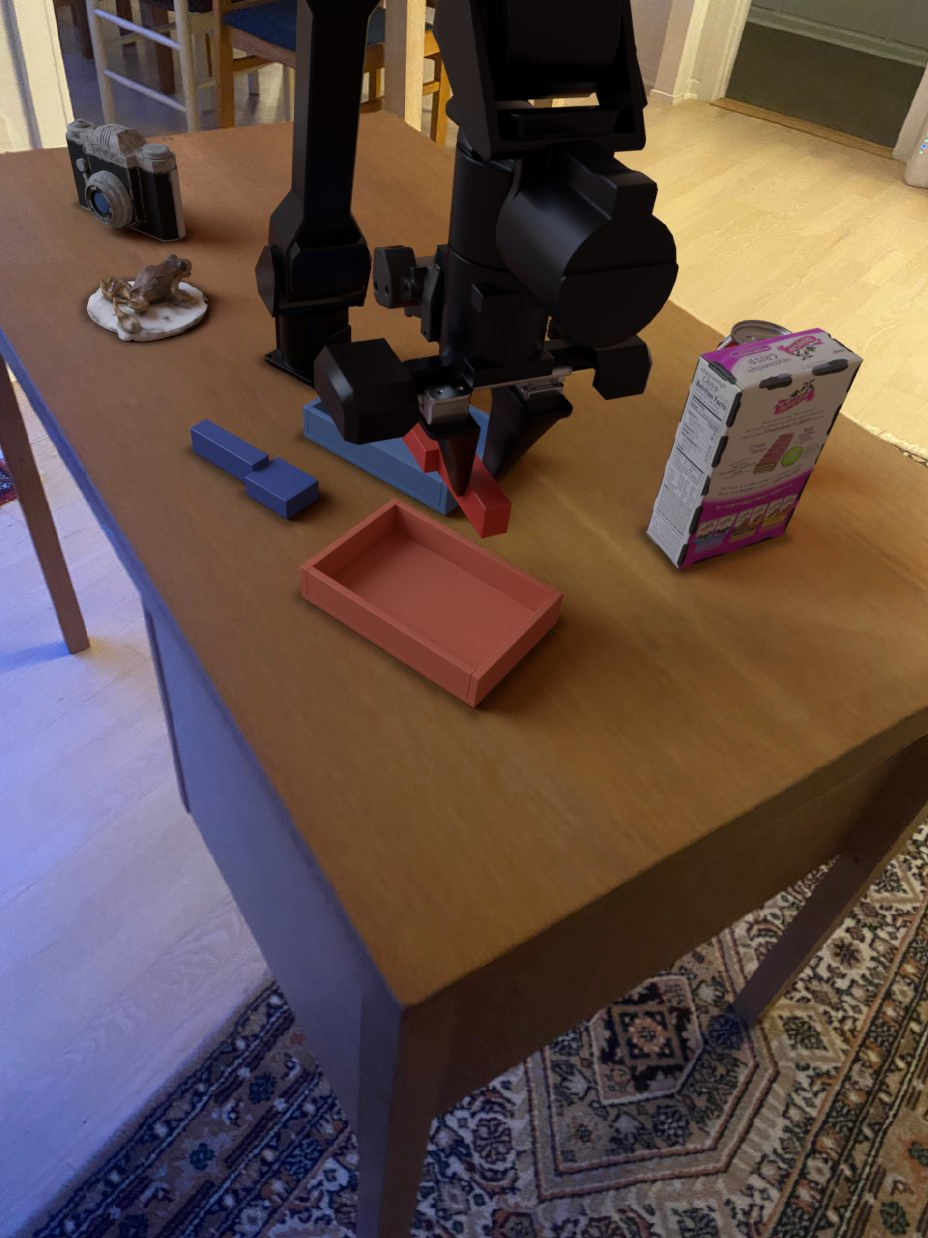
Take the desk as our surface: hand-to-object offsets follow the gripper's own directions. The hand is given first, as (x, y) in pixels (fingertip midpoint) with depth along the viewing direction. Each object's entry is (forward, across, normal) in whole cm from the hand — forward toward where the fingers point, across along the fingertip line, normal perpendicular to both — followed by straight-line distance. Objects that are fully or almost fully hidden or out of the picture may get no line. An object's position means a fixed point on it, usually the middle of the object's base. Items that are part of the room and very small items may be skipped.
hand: (472, 489), depth 57 cm
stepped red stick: (+1, 0, -2) cm, 2 cm away
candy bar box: (+11, -23, -1) cm, 26 cm away
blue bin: (+11, -4, -19) cm, 22 cm away
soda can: (+11, -30, -9) cm, 33 cm away
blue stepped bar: (+11, +10, -19) cm, 24 cm away
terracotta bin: (+11, +2, 0) cm, 11 cm away
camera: (+11, +12, -66) cm, 68 cm away
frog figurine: (+11, +12, -47) cm, 50 cm away
